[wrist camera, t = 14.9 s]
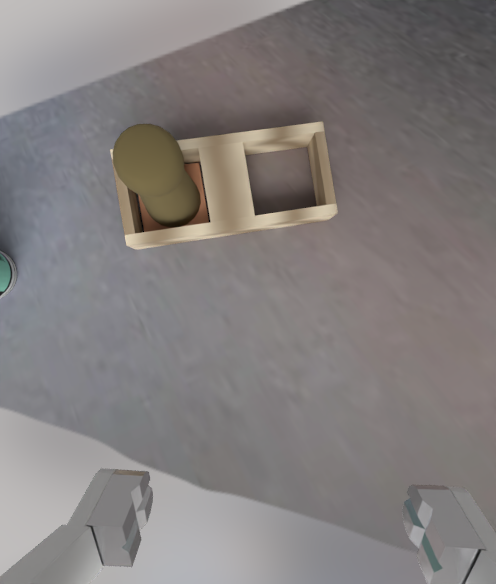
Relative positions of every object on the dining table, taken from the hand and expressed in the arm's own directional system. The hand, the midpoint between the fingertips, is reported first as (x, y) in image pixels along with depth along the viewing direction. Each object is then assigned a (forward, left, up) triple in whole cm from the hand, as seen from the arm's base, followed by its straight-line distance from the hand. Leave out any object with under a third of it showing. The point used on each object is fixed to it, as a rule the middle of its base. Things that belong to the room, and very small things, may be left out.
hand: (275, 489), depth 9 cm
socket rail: (-1, -17, -23) cm, 29 cm away
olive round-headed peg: (+5, -17, -23) cm, 29 cm away
